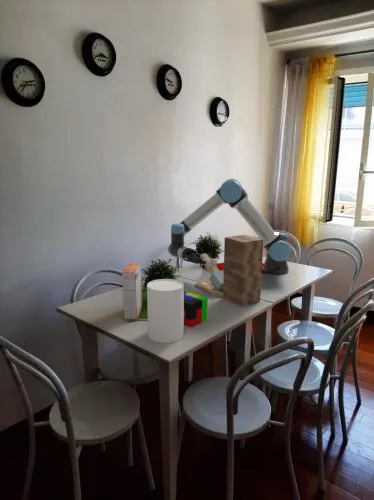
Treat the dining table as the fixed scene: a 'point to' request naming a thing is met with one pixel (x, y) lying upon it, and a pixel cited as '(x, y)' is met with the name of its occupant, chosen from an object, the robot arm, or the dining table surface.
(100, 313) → the dining table surface
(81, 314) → the dining table surface
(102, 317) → the dining table surface
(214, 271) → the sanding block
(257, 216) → the robot arm
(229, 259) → the wooden block
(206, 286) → the board
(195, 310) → the puzzle toy
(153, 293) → the canister
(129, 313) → the cracker box
